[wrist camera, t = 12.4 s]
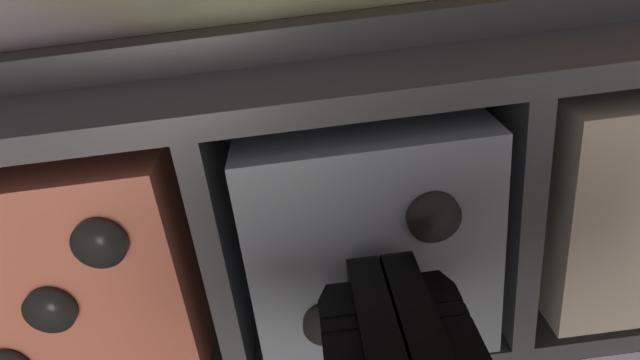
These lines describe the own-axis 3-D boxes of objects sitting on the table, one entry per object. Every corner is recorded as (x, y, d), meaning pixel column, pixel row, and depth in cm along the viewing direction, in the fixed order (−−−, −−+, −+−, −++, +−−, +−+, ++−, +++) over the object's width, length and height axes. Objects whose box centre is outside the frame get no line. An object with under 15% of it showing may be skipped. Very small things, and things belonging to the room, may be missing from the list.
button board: (754, -39, 15) (955, -22, 11) (685, 254, 19) (806, 353, 15) (-92, 64, 15) (-256, 125, 10) (32, 337, 19) (-45, 464, 15)
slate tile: (461, 87, 14) (516, 137, 11) (458, 271, 17) (503, 357, 13) (237, 114, 14) (224, 174, 11) (270, 295, 17) (267, 387, 13)
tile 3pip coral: (177, 119, 14) (146, 180, 11) (220, 297, 17) (205, 390, 13) (-47, 147, 14) (-148, 216, 11) (31, 322, 17) (-31, 420, 13)
